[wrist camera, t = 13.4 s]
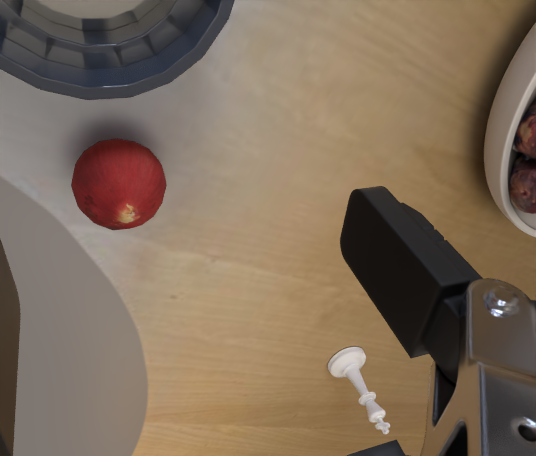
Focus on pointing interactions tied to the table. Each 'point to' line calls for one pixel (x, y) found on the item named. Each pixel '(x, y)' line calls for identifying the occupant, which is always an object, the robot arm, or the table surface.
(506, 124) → the bowl
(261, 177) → the table surface
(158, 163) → the onion
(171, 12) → the bowl
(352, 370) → the chess piece
